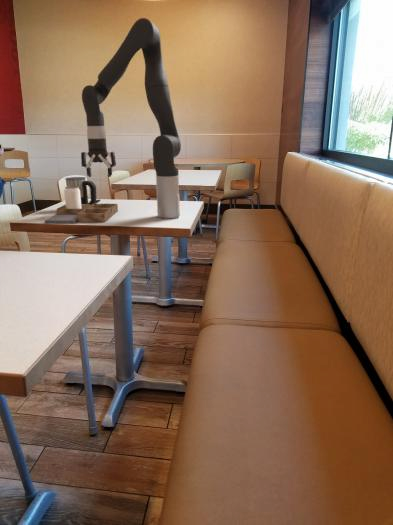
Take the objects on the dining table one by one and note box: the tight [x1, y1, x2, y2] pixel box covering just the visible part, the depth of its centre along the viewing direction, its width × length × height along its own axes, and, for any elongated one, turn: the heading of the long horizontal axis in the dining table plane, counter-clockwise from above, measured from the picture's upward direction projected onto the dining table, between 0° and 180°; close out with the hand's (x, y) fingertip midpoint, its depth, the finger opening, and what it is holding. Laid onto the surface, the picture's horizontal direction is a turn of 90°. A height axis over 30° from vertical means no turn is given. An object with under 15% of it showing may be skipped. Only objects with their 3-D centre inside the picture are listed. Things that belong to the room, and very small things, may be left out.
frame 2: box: [76, 208, 113, 223], centre depth 169 cm, size 11×11×4 cm
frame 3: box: [87, 203, 119, 217], centre depth 180 cm, size 11×11×4 cm
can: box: [64, 186, 82, 209], centre depth 177 cm, size 6×6×12 cm
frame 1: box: [56, 203, 90, 215], centre depth 179 cm, size 11×11×4 cm
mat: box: [44, 213, 78, 224], centre depth 168 cm, size 12×12×1 cm
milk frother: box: [64, 176, 101, 205], centre depth 191 cm, size 14×16×15 cm
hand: (99, 176), depth 176 cm, fingers open, 8 cm apart
